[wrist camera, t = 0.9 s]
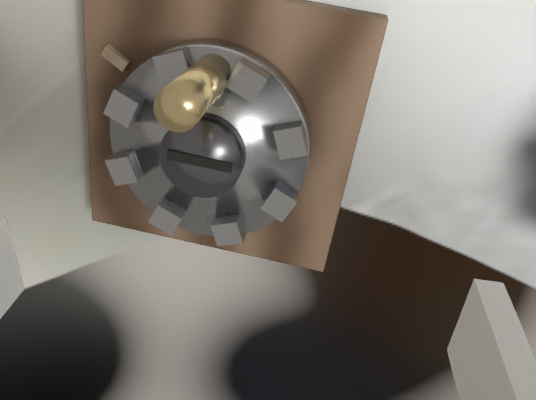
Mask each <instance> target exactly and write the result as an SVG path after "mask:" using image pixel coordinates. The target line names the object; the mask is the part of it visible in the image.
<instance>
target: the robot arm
mask: <svg viewBox="0 0 536 400" xmlns="http://www.w3.org/2000/svg"><path fill="white" fill-rule="evenodd" d="M23 290H24V286H23V282H22V278H21V274H20V270H19V266H18V262H17V258H16V254H15V250H14V247H13V243H12V239H11V235H10V231H9V227H8V223H7V219H6V216H0V319H1V317H2V316H3V315H4V313H5V312H6V311H7V310H8V308H9V307H10V306H11V305H12V304H13V302H14V301H15V300H16V299H17V297H18V296H19V295H20V294H21V292H22V291H23ZM447 351H448V355H449V360H450V364H451V368H452V373H453V377H454V381H455V385H456V389H457V394H458V397H459V400H536V358H535V356H534V354H533V351H532V349H531V347H530V344H529V342H528V340H527V337H526V335H525V333H524V330H523V328H522V325H521V323H520V321H519V318H518V316H517V314H516V312H515V309H514V307H513V304H512V302H511V300H510V297H509V295H508V293H507V290H506V288H505V286H504V283H501V282H494V281H486V280H478V279H474V280H473V283H472V286H471V288H470V291H469V294H468V296H467V299H466V301H465V304H464V307H463V309H462V312H461V314H460V317H459V320H458V322H457V325H456V328H455V330H454V333H453V336H452V338H451V340H450V343H449V346H448V348H447Z"/></svg>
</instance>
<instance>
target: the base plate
mask: <svg viewBox="0 0 536 400" xmlns="http://www.w3.org/2000/svg"><path fill="white" fill-rule="evenodd" d="M83 17H84V40H85V62H86V85H87V108H88V131H89V153H90V176H91V199H92V220H94V221H98V222H103V223H107V224H112V225H116V226H121V227H125V228H130V229H134V230H139V231H143V232H148V233H152V234H156V235H161V236H165V237H170V238H174V239H179V240H184V241H188V242H193V243H197V244H201V245H206V246H210V247H215V248H219V249H224V250H228V251H233V252H237V253H241V254H246V255H251V256H255V257H260V258H264V259H269V260H273V261H277V262H282V263H286V264H290V265H295V266H300V267H304V268H308V269H313V270H317V271H322V272H323V270H324V266H325V262H326V259H327V255H328V251H329V247H330V243H331V239H332V235H333V231H334V227H335V224H336V220H337V216H338V212H339V208H340V205H341V201H342V197H343V193H344V189H345V185H346V181H347V178H348V174H349V170H350V166H351V162H352V158H353V154H354V151H355V147H356V143H357V139H358V135H359V131H360V127H361V124H362V120H363V116H364V112H365V108H366V104H367V100H368V97H369V93H370V89H371V85H372V81H373V77H374V73H375V70H376V66H377V62H378V58H379V54H380V50H381V46H382V43H383V39H384V35H385V31H386V27H387V23H388V18H387V15H382V14H377V13H372V12H366V11H361V10H355V9H350V8H344V7H339V6H333V5H328V4H322V3H317V2H312V1H306V0H83ZM197 39H215V40H223V41H228V42H232V43H236V44H239V45H242V46H244V47H246V48H249V49H251V50H253V51H255V52H257V53H258V54H260V55H262V56H264V57H265V58H266V59H268V60H269V61H270V62H272V63H273V64H274V65H276V66H277V67H278V68H279V69H280V70H281V71H282V72H283V73H284V74H285V75H286V77H287V78H288V79H289V80H290V82H291V83H292V84H293V85H294V87H295V89H296V90H297V92H298V94H299V95H300V97H301V99H302V101H303V104H304V106H305V108H306V111H307V115H308V118H309V122H310V129H311V151H310V158H309V162H308V167H307V171H306V175H305V178H304V182H303V185H302V187H301V189H300V191H299V198H298V202H297V203H296V205H295V206H294V207H293V209H292V210H291V211H290V213H289V214H288V215H287V217H286V218H285V219H284V220H283V222H281V221H279V220H278V219H276V220H274V221H273V222H271V223H270V224H268V225H267V226H264V227H262V228H260V229H258V230H256V231H252V232H249V233H246V237H245V240H244V242H243V243H242V244H233V245H224V246H217V244H216V241H215V238H214V236H209V235H203V234H198V233H194V232H190V231H187V230H184V229H182V228H179V227H177V228H176V230H175V231H174V233H173V235H172V236H171V235H169V234H167V233H166V232H164V231H162V230H160V229H159V228H157V227H155V226H154V225H152V224H150V223H149V222H148V221H149V220H150V218H151V216H152V214H153V212H152V211H151V210H150V209H149V208H147V207H146V206H145V205H144V204H143V203H142V202H141V201H140V200H139V199H138V198H137V197H136V195H135V194H134V193H133V192H132V190H131V189H130V188H129V186H128V185H127V184H124V185H118V186H115V184H114V182H113V179H112V177H111V175H110V172H109V170H108V168H107V165H106V163H105V160H106V159H107V158H108V157H109V156H110V155H111V154H113V151H112V146H111V140H110V117H108V116H107V115H105V114H103V113H104V110H105V108H106V106H107V103H108V101H109V99H110V96H111V94H112V92H113V90H114V88H116V87H117V86H119V85H120V84H123V83H124V82H125V81H126V79H127V78H128V77H129V75H130V74H131V73H132V72H133V71H134V70H135V69H136V68H137V67H138V66H140V65H141V64H143V63H144V62H146V61H147V60H148V59H150V58H152V57H153V56H155V55H156V54H158V53H159V52H161V51H163V50H165V49H167V48H169V47H171V46H173V45H176V44H179V43H182V42H185V41H191V40H197Z"/></svg>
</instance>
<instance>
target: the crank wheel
mask: <svg viewBox="0 0 536 400" xmlns="http://www.w3.org/2000/svg"><path fill="white" fill-rule="evenodd" d="M103 114H105V115H107V116H108V117H110V140H111V146H112V151H113V154H111V155H110V156H109V157H108V158H107V159H106V160H105V163H106V165H107V168H108V170H109V172H110V175H111V177H112V179H113V182H114V184H115V186H118V185H124V184H127V185H128V186H129V188H130V189H131V190H132V192H133V193H134V194H135V195H136V197H137V198H138V199H139V200H140V201H141V202H142V203H143V204H144V205H145V206H146V207H147V208H149V209H150V210H151V211H152V212H153V214H152V216H151V218H150V220H149V221H148V222H149V223H150V224H152V225H154V226H155V227H157V228H159V229H160V230H162V231H164V232H166V233H167V234H169V235H171V236H172V235H173V233H174V231H175V230H176V228H177V227H179V228H182V229H184V230H187V231H190V232H194V233H198V234H203V235H209V236H214V238H215V241H216V244H217V246H224V245H233V244H242V243H243V242H244V240H245V237H246V233H249V232H252V231H256V230H258V229H260V228H262V227H264V226H267V225H268V224H270V223H271V222H273V221H274V220H276V219H278V220H279V221H281V222H283V220H284V219H285V218H286V217H287V215H288V214H289V213H290V211H291V210H292V209H293V207H294V206H295V205H296V203H297V202H298V198H299V191H300V189H301V187H302V185H303V182H304V178H305V175H306V171H307V167H308V162H309V158H310V151H311V129H310V122H309V118H308V115H307V111H306V108H305V106H304V104H303V101H302V99H301V97H300V95H299V94H298V92H297V90H296V89H295V87H294V85H293V84H292V83H291V82H290V80H289V79H288V78H287V77H286V75H285V74H284V73H283V72H282V71H281V70H280V69H279V68H278V67H277V66H276V65H274V64H273V63H272V62H270V61H269V60H268V59H266V58H265V57H264V56H262V55H260V54H258V53H257V52H255V51H253V50H251V49H249V48H246V47H244V46H242V45H239V44H236V43H232V42H228V41H223V40H215V39H197V40H191V41H185V42H182V43H179V44H176V45H173V46H171V47H169V48H167V49H165V50H163V51H161V52H159V53H158V54H156V55H155V56H153V57H152V58H150V59H148V60H147V61H146V62H144V63H143V64H141V65H140V66H138V67H137V68H136V69H135V70H134V71H133V72H132V73H131V74H130V75H129V77H128V78H127V79H126V81H125V82H124V83H123V84H120V85H119V86H117V87H116V88H114V90H113V92H112V94H111V96H110V99H109V101H108V103H107V106H106V108H105V110H104V113H103Z"/></svg>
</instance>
